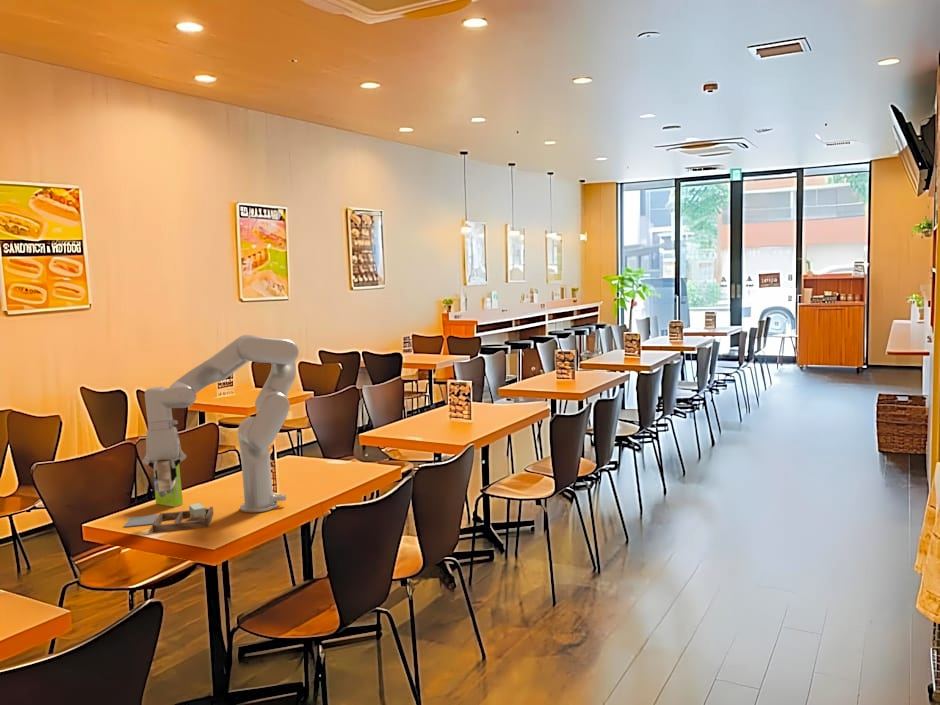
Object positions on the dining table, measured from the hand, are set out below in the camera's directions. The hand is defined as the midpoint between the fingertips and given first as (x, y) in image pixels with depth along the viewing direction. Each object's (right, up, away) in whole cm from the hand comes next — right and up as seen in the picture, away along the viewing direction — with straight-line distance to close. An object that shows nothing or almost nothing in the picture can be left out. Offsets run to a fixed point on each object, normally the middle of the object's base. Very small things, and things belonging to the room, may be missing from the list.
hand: (166, 479), depth 258 cm
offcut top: (+9, -12, +3) cm, 15 cm away
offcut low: (+9, -15, +3) cm, 18 cm away
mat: (-11, -15, +6) cm, 19 cm away
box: (-8, -13, +25) cm, 29 cm away
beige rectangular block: (0, -2, 0) cm, 2 cm away
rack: (+5, -14, +2) cm, 15 cm away
